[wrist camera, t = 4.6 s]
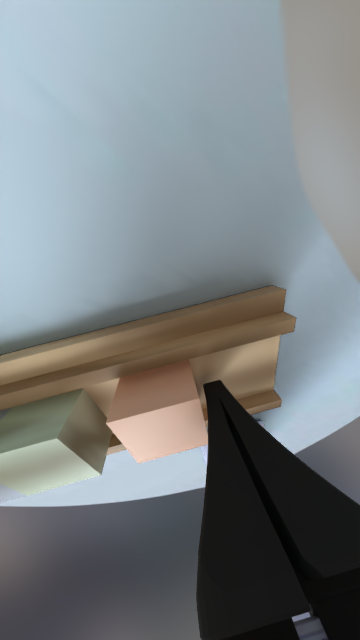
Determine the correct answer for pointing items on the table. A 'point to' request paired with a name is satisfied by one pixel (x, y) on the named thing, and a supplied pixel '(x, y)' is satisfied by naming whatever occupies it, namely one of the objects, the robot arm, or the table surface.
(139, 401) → the peach pink cube
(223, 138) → the table surface
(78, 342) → the oak channel board
